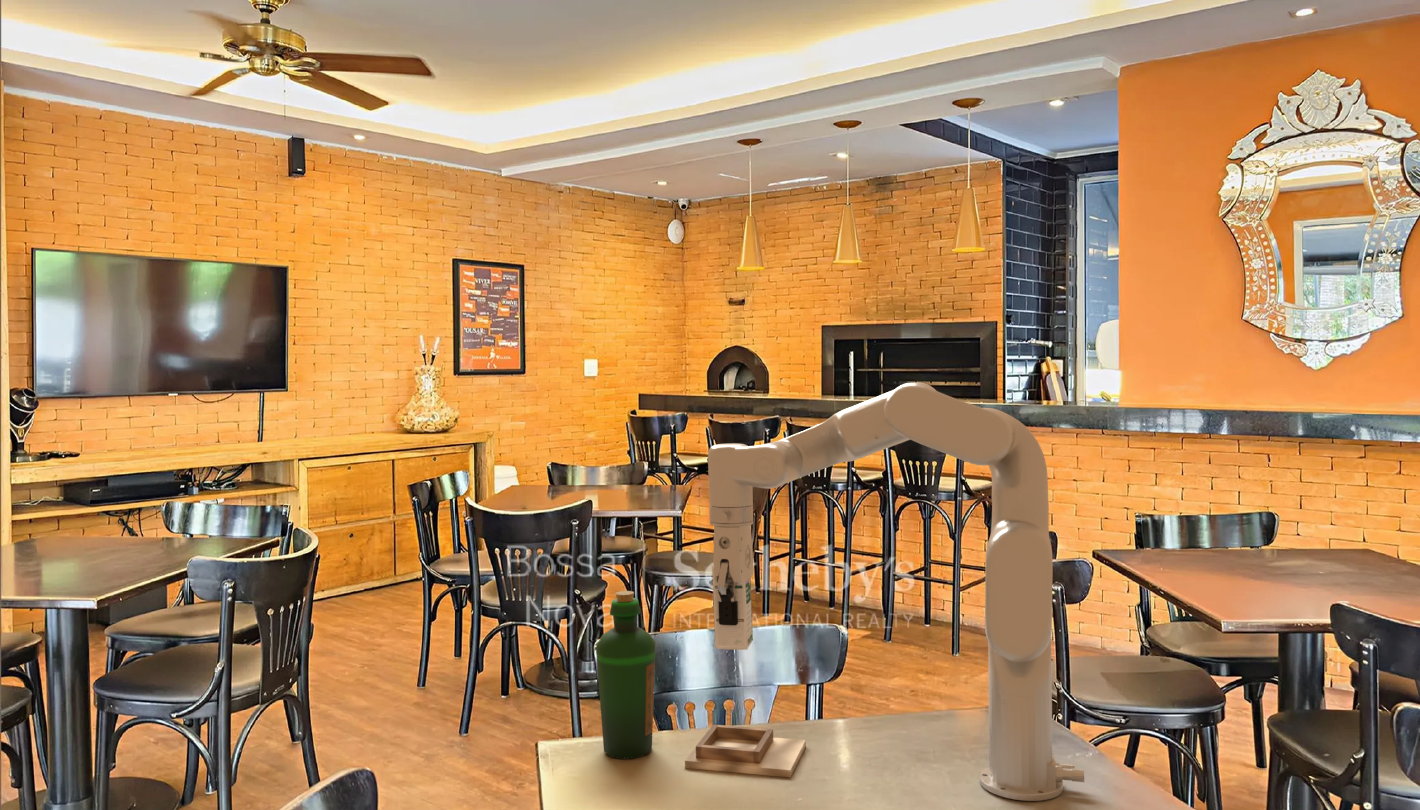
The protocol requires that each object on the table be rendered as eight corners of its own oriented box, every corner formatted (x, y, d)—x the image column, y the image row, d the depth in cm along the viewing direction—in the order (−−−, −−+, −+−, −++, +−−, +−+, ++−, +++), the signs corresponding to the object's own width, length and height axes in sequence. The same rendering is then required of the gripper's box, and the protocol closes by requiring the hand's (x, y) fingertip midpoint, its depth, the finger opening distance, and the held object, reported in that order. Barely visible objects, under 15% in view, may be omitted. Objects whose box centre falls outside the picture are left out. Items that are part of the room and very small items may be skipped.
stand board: (805, 746, 175) (805, 728, 175) (790, 777, 162) (790, 758, 162) (707, 738, 180) (707, 721, 180) (684, 767, 167) (684, 749, 167)
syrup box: (748, 650, 168) (746, 564, 167) (713, 649, 169) (711, 564, 168) (753, 641, 173) (751, 558, 173) (720, 640, 174) (718, 558, 174)
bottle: (671, 749, 175) (667, 591, 174) (626, 767, 167) (622, 602, 167) (630, 736, 182) (626, 584, 182) (585, 752, 174) (581, 594, 174)
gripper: (740, 523, 161) (742, 633, 162) (763, 509, 178) (765, 609, 178) (695, 522, 163) (698, 631, 164) (723, 509, 180) (725, 608, 180)
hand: (733, 619), depth 171 cm, fingers closed on syrup box, 5 cm apart
